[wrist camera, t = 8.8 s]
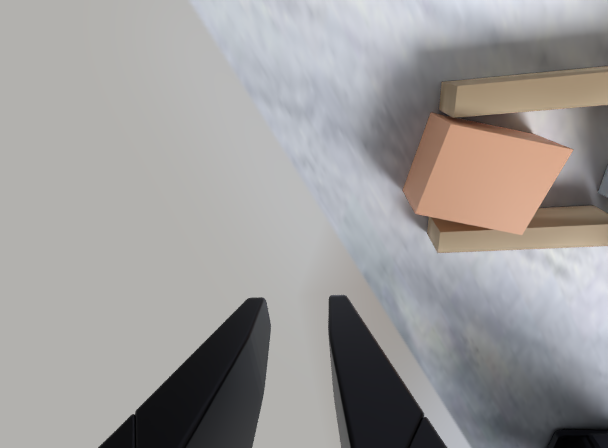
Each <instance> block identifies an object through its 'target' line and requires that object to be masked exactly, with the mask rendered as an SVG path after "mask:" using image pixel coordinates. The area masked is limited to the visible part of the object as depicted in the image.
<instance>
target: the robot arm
mask: <svg viewBox="0 0 608 448" xmlns="http://www.w3.org/2000/svg"><path fill="white" fill-rule="evenodd" d="M328 322H329V323H328V330H329V345H330V357H331V367H332V368H331V369H332V381H333V392H334V400H335V408H336V414H337V422H338V428H339V435H340V442H341V448H447V447H446V445H445V444H444V442H443V441H442V439H441V438H440V436H439V435H438V433H437V432H436V430H435V429H434V427H433V426H432V424H431V423H430V421H429V420H428V418H427V417H424V413H423V411H422V409H421V408H420V406H419V405H418V403H417V402H416V400H415V399H414V397H413V396H412V394H411V393H410V391H409V390H408V388H407V387H406V385H405V384H404V382H403V381H402V379H401V378H400V376H399V375H398V373H397V372H396V370H395V369H394V367H393V366H392V364H391V363H390V361H389V359H388V358H387V356H386V355H385V353H384V352H383V350H382V349H381V347H380V346H379V345H378V343H377V341H376V340H375V338H374V337H373V336H372V334H371V332H370V331H369V329H368V328H367V326H366V325H365V323H364V322H363V320H362V318H361V317H360V316H359V314H358V312H357V311H356V310H355V308H354V306H353V305H352V303H351V302H350V300H349V299H348V298H347V296H345V295H331V296H330V297H329V321H328ZM270 331H271V324H270V318H269V313H268V308H267V303H266V300H265V299H264V298H249V299H247V300H246V301H245V302H244V303H243V304H242V305H241V306H240V307H239V308H238V309H237V310H236V311H235V312H234V313H233V314H232V315H231V316H230V317H229V318H228V319H227V320H226V321H225V322H224V323H223V324H222V325H221V326H220V327H219V328H218V329H217V330H216V331H215V332H214V333H213V334H212V335H211V336H210V337H209V338H208V339H207V340H206V341H205V342H204V343H203V344H202V345H201V346H200V347H199V348H198V349H197V350H196V351H195V352H194V353H193V354H192V355H191V356H190V357H189V358H188V359H187V360H186V361H185V362H184V363H183V364H182V365H181V366H180V367H179V368H178V369H177V370H176V371H175V372H174V373H173V374H172V375H171V376H170V377H169V378H168V379H167V380H166V381H165V382H164V383H163V384H162V385H161V386H160V387H159V388H158V389H157V390H156V391H155V392H154V393H153V394H152V395H151V396H150V397H149V398H148V399H147V400H146V401H145V402H144V403H143V404H142V405H141V406H140V407H139V408H138V409H137V410H136V412H135V415H134V414H132V415H131V416H130V417H129V418H128V419H127V420H126V421H125V422H124V423H123V424H122V425H121V426H120V427H119V428H118V429H117V430H116V431H115V432H114V433H113V434H112V435H111V436H110V437H109V438H108V439H107V440H106V441H105V442H103V444H101V445H100V446H99V447H98V448H252V446H253V441H254V437H255V432H256V427H257V423H258V418H259V414H260V409H261V405H262V400H263V394H264V387H265V379H266V370H267V360H268V351H269V340H270ZM548 448H608V430H559V431H556V432H555V433H554V435H553V438H552V440H551V442H550V444H549V446H548Z"/></svg>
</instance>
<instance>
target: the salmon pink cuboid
mask: <svg viewBox="0 0 608 448" xmlns="http://www.w3.org/2000/svg"><path fill="white" fill-rule="evenodd" d="M572 151H573V149H571V148H568V147H566V146H563V145H560V144H558V143H555V142H553V141H550V140H548V139H545V138H543V137H540V136H538V135H535V134H532V133H527V132H522V131H517V130H513V129H508V128H503V127H498V126H493V125H489V124H484V123H479V122H474V121H470V120H465V119H460V118H453V117H450V116H446V115H441V114H436V113H430V116H429V118H428V121H427V124H426V127H425V129H424V132H423V135H422V138H421V141H420V143H419V146H418V149H417V152H416V154H415V157H414V160H413V163H412V165H411V168H410V171H409V174H408V176H407V179H406V182H405V185H404V187H403V192H404V194H405V196H406V198H407V200H408V201H409V203H410V205H411V207H412V209H413V211H414V213H415V214H418V215H423V216H428V217H433V218H438V219H443V220H448V221H453V222H458V223H463V224H468V225H473V226H478V227H483V228H488V229H493V230H498V231H503V232H508V233H513V234H518V235H523V233H524V231H525V230H526V228H527V226H528V225H529V223H530V221H531V220H532V218H533V216H534V215H535V213H536V211H537V210H538V208H539V206H540V205H541V203H542V201H543V200H544V198H545V196H546V195H547V193H548V191H549V190H550V188H551V186H552V185H553V183H554V181H555V180H556V178H557V176H558V175H559V173H560V171H561V170H562V168H563V166H564V165H565V163H566V161H567V160H568V158H569V156H570V155H571V153H572Z"/></svg>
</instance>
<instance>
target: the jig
mask: <svg viewBox="0 0 608 448" xmlns="http://www.w3.org/2000/svg"><path fill="white" fill-rule="evenodd" d="M600 105H608V66H602V67H592V68H581V69H571V70H560V71H550V72H540V73H529V74H519V75H508V76H498V77H487V78H477V79H467V80H456V81H446V82H442V83H441V94H440V104H439V110H440V111H442V112H444V113H446V114H448V115H449V116H451V117H453V118H457V117H469V116H481V115H493V114H505V113H517V112H529V111H540V110H552V109H564V108H576V107H588V106H600ZM427 234H428V236H429V238H430V240H431V241H432V243H433V245H434V247H435V249H436V251H437V253H450V252H474V251H497V250H521V249H545V248H569V247H593V246H608V213H606V212H604V211H603V210H601V209H599V208H597V207H596V206H594V205H588V206H569V207H551V208H538V210H537V211H536V213H535V215H534V216H533V218H532V220H531V221H530V223H529V225H528V226H527V228H526V230H525V231H524V233H523V235H518V234H513V233H508V232H503V231H498V230H493V229H488V228H483V227H478V226H473V225H468V224H463V223H458V222H453V221H448V220H443V219H438V218H433V217H429V218H428V228H427Z"/></svg>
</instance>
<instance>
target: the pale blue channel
mask: <svg viewBox="0 0 608 448" xmlns="http://www.w3.org/2000/svg"><path fill="white" fill-rule="evenodd" d="M598 193H599V194H601V195H603V196H605V197H607V198H608V166H607V169H606V171H605V174H604V177H603V180H602V182H601V185H600V188H599V191H598Z"/></svg>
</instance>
